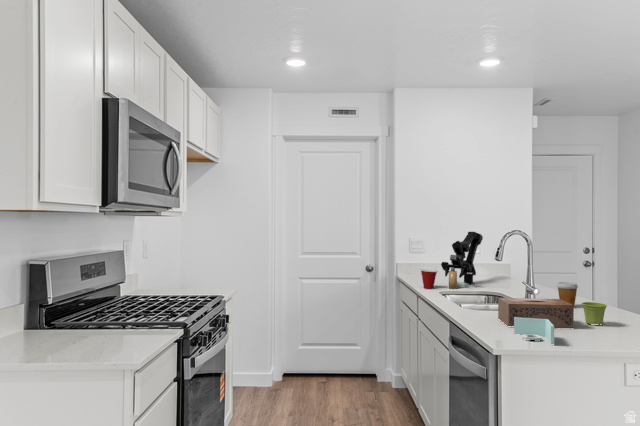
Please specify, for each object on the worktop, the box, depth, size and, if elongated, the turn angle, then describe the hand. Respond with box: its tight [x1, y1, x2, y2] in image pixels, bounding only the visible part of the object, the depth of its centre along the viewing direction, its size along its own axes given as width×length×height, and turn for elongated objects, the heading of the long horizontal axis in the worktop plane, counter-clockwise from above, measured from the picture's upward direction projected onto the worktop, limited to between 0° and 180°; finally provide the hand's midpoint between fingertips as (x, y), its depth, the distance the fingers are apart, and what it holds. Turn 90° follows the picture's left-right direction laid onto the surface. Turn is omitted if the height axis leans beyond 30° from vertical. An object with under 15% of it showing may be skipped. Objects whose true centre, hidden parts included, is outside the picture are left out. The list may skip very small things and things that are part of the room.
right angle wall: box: [513, 317, 555, 345], centre depth 174 cm, size 12×12×8 cm
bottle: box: [448, 268, 458, 290], centre depth 301 cm, size 5×5×13 cm
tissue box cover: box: [497, 297, 575, 329], centre depth 200 cm, size 26×14×10 cm, turn 85°
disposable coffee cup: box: [556, 281, 579, 307], centre depth 239 cm, size 10×10×12 cm
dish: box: [457, 281, 469, 289], centre depth 309 cm, size 11×11×2 cm
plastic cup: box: [420, 268, 438, 290], centre depth 300 cm, size 11×11×12 cm
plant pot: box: [581, 301, 608, 325], centre depth 200 cm, size 9×9×9 cm
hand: (452, 276), depth 301 cm, fingers open, 9 cm apart
